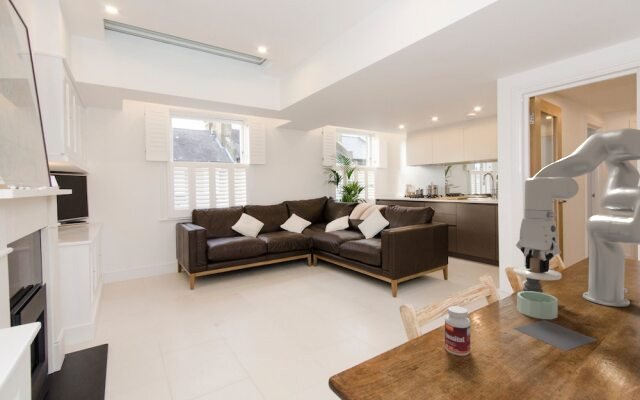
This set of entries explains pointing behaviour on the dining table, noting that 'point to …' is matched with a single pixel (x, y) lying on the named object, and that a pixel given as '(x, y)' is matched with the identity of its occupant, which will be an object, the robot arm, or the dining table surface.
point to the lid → (537, 271)
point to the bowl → (537, 305)
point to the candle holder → (533, 283)
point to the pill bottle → (457, 331)
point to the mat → (555, 335)
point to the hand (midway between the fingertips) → (536, 269)
